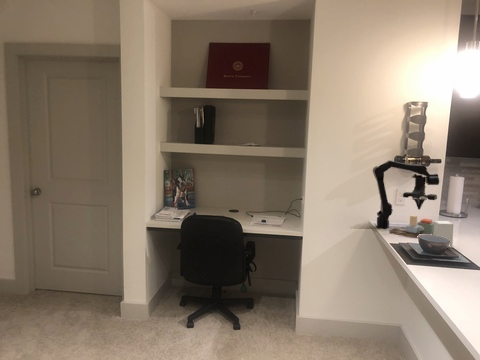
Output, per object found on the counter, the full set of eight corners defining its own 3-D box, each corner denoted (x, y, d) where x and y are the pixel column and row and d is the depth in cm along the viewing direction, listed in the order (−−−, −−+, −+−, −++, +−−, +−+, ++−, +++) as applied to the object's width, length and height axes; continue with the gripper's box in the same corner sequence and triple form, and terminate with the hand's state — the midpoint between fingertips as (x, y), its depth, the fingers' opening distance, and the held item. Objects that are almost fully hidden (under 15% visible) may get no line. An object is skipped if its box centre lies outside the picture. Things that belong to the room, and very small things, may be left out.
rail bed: (389, 233, 223) (389, 226, 223) (393, 230, 228) (394, 224, 228) (420, 238, 211) (421, 231, 210) (424, 235, 216) (425, 229, 215)
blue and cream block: (405, 231, 216) (406, 216, 215) (409, 228, 221) (410, 214, 220) (416, 232, 212) (417, 217, 211) (420, 230, 217) (421, 215, 216)
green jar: (416, 232, 223) (417, 222, 222) (420, 230, 228) (421, 220, 228) (431, 234, 218) (431, 224, 217) (434, 232, 223) (435, 222, 222)
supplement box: (452, 247, 193) (453, 224, 191) (437, 247, 194) (438, 223, 193) (447, 243, 200) (448, 220, 198) (433, 243, 201) (434, 220, 200)
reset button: (420, 230, 223) (420, 220, 222) (423, 228, 227) (423, 218, 226) (429, 231, 219) (429, 221, 219) (431, 229, 223) (432, 219, 222)
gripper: (399, 185, 231) (399, 209, 233) (432, 187, 218) (431, 213, 220) (406, 183, 239) (405, 206, 241) (437, 185, 226) (436, 210, 228)
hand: (419, 209), depth 232 cm, fingers closed
